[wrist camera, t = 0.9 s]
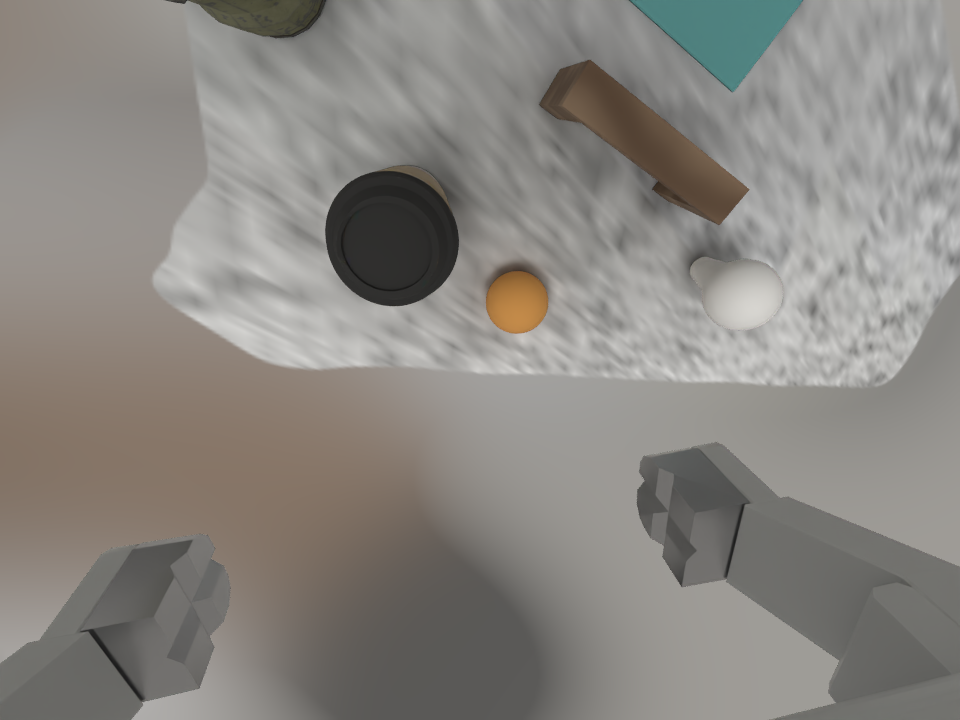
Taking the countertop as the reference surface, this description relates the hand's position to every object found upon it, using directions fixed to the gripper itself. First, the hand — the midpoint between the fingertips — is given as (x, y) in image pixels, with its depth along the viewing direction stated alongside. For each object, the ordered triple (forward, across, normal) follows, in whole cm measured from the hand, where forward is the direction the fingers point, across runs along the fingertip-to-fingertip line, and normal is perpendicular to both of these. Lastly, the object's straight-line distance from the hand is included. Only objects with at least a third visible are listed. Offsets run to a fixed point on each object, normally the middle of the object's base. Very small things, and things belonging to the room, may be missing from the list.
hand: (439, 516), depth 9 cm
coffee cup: (+38, 0, -1) cm, 38 cm away
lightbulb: (+35, -28, +8) cm, 46 cm away
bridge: (+36, -19, -5) cm, 41 cm away
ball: (+34, -9, +9) cm, 37 cm away
